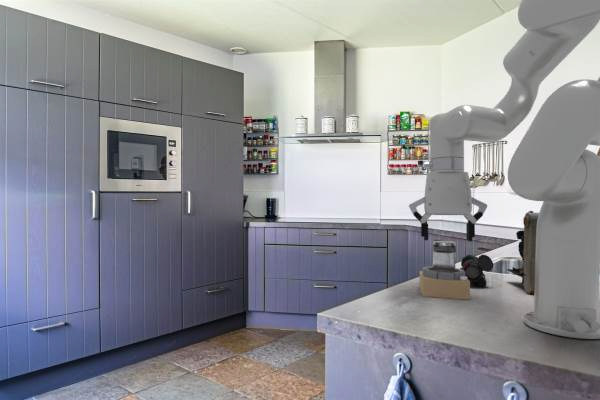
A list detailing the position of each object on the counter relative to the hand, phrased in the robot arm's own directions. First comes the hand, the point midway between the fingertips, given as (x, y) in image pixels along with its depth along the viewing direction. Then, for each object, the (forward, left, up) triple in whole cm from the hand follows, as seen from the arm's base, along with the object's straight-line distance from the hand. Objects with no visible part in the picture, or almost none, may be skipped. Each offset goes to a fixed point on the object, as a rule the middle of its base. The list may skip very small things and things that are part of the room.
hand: (447, 240), depth 97 cm
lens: (+1, 0, -9) cm, 8 cm away
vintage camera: (+13, -23, -13) cm, 29 cm away
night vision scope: (+17, -9, -13) cm, 23 cm away
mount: (+1, +1, -13) cm, 13 cm away
